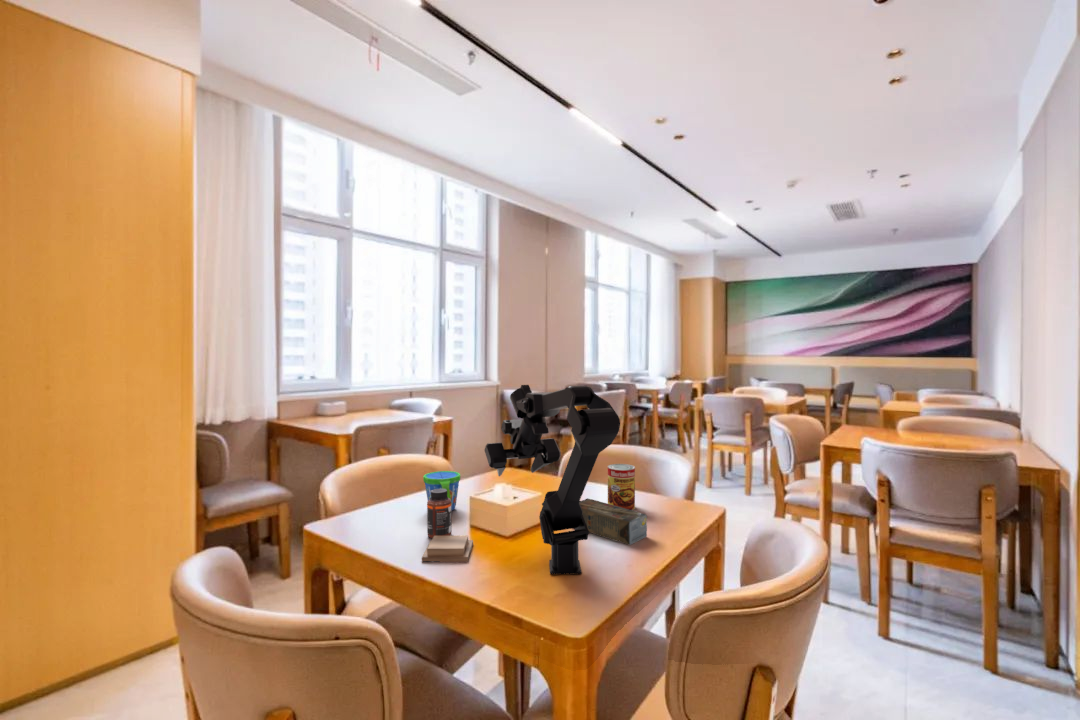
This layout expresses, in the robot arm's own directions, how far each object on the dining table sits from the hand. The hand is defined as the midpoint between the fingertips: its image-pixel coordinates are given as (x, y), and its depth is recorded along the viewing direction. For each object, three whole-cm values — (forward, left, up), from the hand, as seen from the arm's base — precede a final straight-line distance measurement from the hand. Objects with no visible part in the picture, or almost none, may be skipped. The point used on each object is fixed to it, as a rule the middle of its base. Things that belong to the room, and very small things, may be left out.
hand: (515, 473), depth 135 cm
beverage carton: (-4, -23, -15) cm, 28 cm away
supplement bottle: (-6, +19, -14) cm, 24 cm away
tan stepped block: (-17, +15, -14) cm, 27 cm away
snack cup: (+15, +22, -14) cm, 30 cm away
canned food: (+16, -30, -14) cm, 37 cm away
